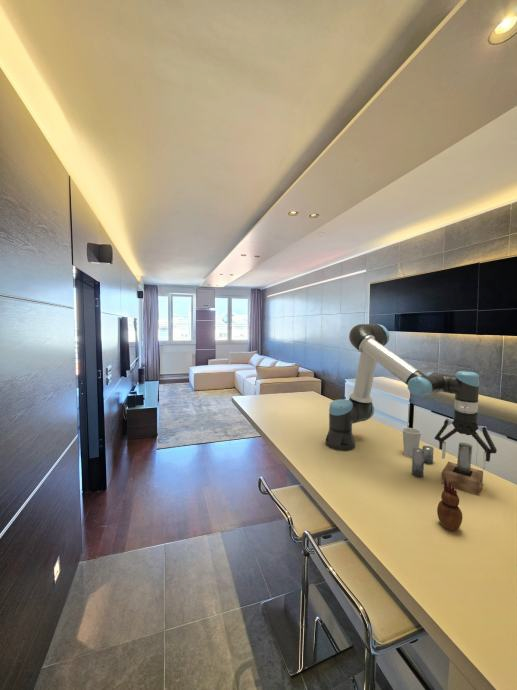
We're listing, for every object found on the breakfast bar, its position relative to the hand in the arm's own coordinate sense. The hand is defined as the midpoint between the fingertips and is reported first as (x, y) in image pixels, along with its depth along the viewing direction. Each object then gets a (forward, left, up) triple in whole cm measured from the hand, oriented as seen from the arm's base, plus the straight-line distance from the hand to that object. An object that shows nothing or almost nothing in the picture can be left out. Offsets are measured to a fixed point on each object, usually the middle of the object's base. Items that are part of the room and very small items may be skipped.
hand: (463, 462), depth 118 cm
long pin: (0, 0, -8) cm, 8 cm away
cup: (-23, +14, -9) cm, 29 cm away
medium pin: (-15, -5, -8) cm, 18 cm away
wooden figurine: (+1, -33, -9) cm, 34 cm away
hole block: (0, 0, -8) cm, 8 cm away
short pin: (-15, +11, -8) cm, 20 cm away
